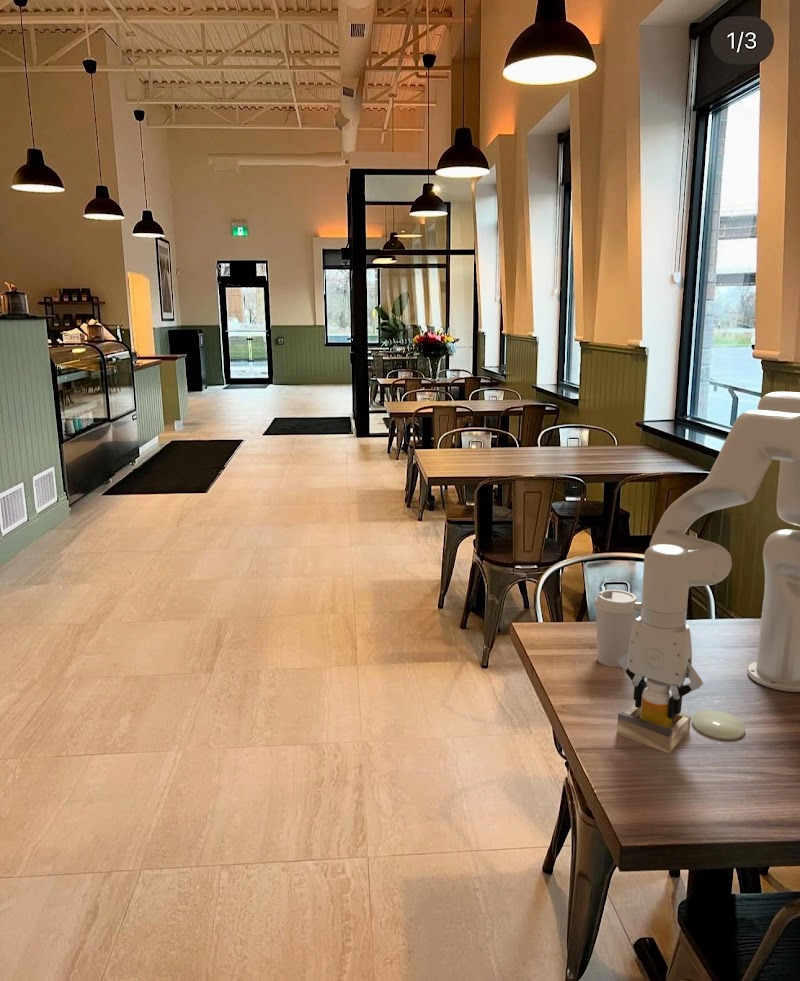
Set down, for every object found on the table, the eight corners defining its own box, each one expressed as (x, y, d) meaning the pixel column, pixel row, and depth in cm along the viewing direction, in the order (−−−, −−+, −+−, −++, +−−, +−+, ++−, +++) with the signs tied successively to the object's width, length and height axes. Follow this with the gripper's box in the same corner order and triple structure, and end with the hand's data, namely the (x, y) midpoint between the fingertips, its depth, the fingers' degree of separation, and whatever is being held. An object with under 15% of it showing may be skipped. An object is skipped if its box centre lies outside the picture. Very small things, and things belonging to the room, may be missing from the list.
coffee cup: (601, 647, 173) (605, 585, 170) (642, 659, 167) (647, 594, 164) (582, 662, 166) (586, 596, 163) (624, 674, 160) (629, 607, 157)
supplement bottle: (673, 739, 135) (677, 688, 133) (641, 736, 136) (644, 686, 134) (668, 723, 140) (672, 674, 138) (638, 720, 141) (641, 672, 139)
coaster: (702, 709, 146) (702, 705, 146) (751, 725, 140) (752, 721, 140) (684, 727, 140) (684, 723, 139) (735, 745, 134) (735, 740, 134)
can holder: (639, 714, 144) (640, 694, 143) (689, 731, 138) (691, 711, 137) (616, 734, 137) (618, 713, 136) (668, 753, 131) (670, 732, 130)
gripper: (607, 610, 136) (602, 703, 140) (705, 635, 125) (696, 735, 129) (626, 598, 141) (621, 688, 145) (721, 621, 130) (712, 717, 134)
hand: (656, 709), depth 137 cm, fingers closed on supplement bottle, 5 cm apart
